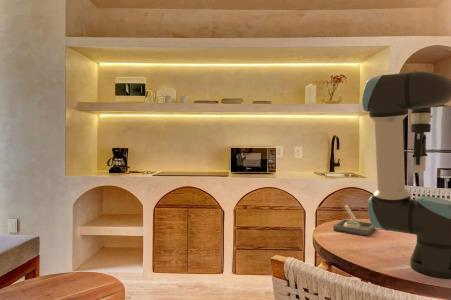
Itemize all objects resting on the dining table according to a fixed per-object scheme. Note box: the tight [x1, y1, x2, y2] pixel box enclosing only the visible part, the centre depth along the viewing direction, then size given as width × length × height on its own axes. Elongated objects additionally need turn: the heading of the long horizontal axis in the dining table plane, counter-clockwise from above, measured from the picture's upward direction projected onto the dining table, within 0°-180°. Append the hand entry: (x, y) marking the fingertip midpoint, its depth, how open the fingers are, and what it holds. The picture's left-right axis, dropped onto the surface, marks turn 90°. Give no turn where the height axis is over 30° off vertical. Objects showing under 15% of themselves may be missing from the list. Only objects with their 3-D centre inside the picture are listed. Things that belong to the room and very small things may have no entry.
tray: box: [333, 219, 376, 237], centre depth 162 cm, size 15×15×2 cm
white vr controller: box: [344, 204, 360, 228], centre depth 166 cm, size 8×12×7 cm
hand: (419, 171), depth 151 cm, fingers open, 13 cm apart
